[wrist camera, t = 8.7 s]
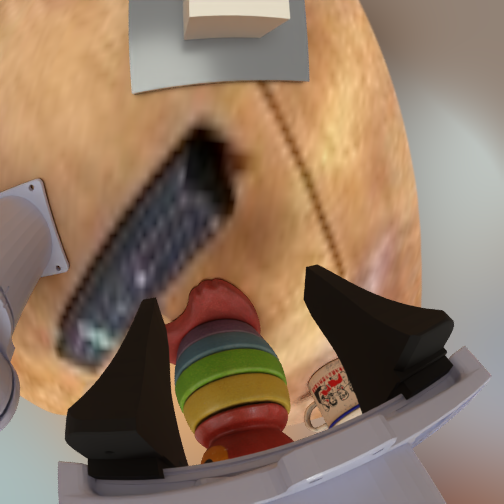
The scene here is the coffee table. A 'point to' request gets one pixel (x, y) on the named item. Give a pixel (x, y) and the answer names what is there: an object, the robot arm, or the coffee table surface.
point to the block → (232, 18)
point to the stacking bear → (227, 374)
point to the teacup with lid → (332, 397)
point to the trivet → (210, 50)
